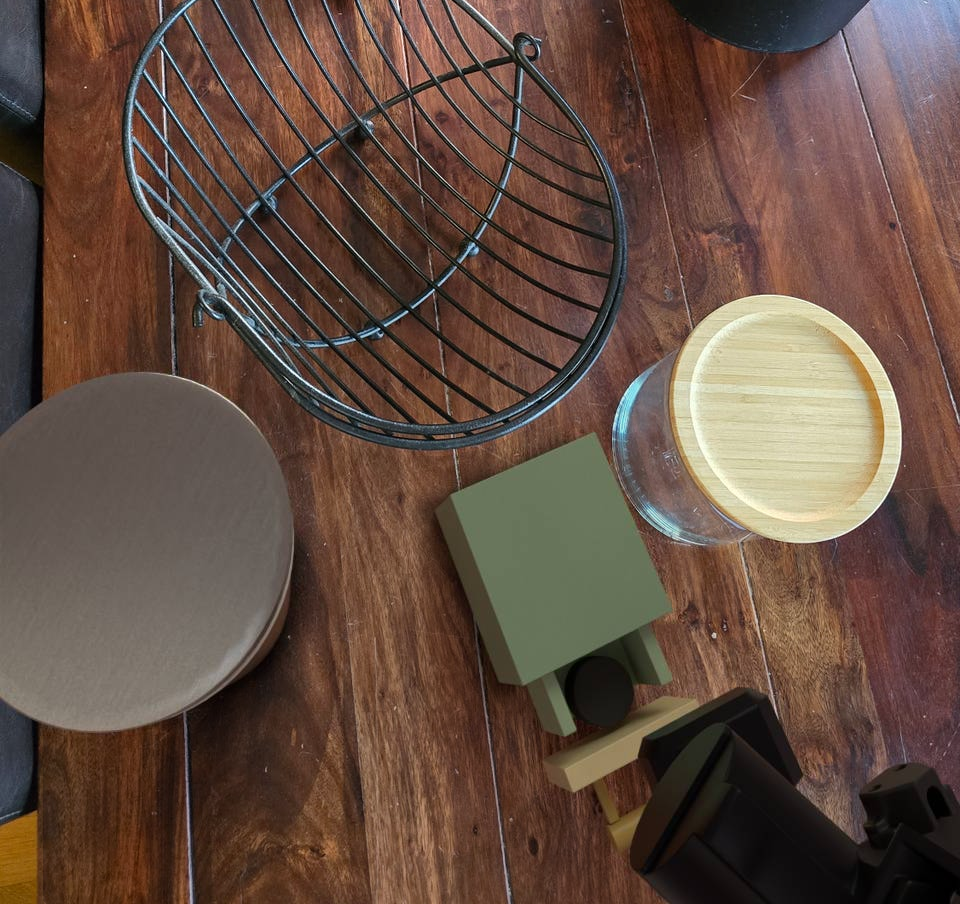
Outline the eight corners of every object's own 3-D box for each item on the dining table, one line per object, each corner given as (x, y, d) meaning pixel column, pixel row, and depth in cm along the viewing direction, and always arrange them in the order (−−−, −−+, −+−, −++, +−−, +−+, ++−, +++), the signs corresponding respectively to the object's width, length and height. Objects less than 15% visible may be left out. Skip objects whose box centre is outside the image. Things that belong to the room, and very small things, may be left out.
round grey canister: (174, 479, 72) (67, 316, 37) (319, 549, 72) (350, 450, 36) (86, 646, 67) (-134, 641, 32) (241, 723, 67) (189, 802, 32)
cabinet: (636, 614, 72) (673, 610, 65) (499, 682, 70) (522, 686, 62) (566, 452, 76) (595, 431, 69) (434, 510, 74) (449, 494, 66)
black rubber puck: (632, 708, 68) (644, 710, 66) (579, 736, 67) (589, 738, 65) (607, 645, 70) (617, 645, 67) (554, 672, 68) (563, 672, 66)
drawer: (702, 785, 68) (739, 797, 62) (577, 856, 65) (604, 874, 60) (605, 558, 73) (631, 550, 67) (486, 615, 70) (503, 611, 65)
